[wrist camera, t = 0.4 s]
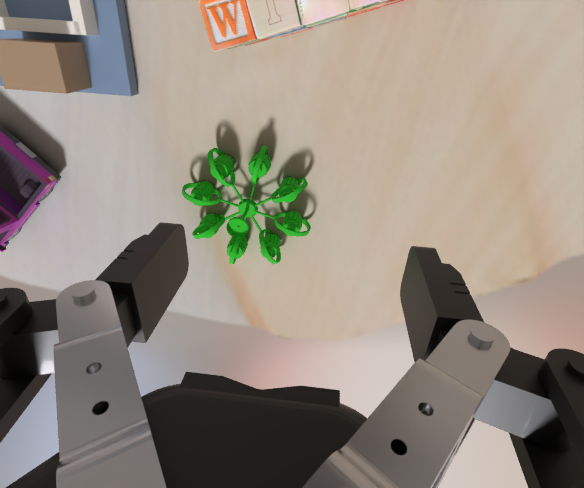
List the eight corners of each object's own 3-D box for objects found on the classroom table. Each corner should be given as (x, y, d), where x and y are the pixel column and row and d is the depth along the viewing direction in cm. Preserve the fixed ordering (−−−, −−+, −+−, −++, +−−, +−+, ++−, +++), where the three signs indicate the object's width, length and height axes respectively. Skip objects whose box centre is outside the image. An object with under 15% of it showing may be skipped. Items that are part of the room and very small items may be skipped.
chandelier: (333, 163, 40) (332, 187, 34) (292, 269, 47) (285, 303, 41) (201, 118, 39) (176, 133, 33) (181, 233, 46) (157, 263, 41)
